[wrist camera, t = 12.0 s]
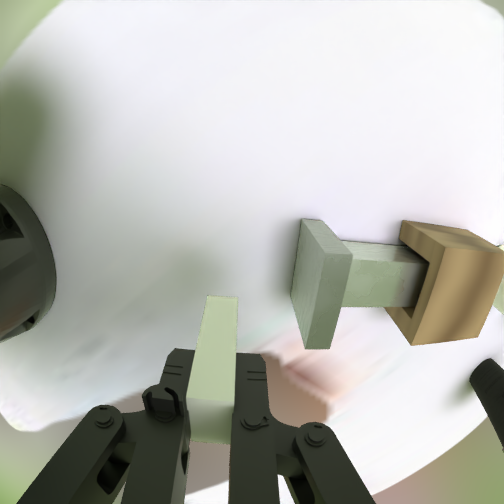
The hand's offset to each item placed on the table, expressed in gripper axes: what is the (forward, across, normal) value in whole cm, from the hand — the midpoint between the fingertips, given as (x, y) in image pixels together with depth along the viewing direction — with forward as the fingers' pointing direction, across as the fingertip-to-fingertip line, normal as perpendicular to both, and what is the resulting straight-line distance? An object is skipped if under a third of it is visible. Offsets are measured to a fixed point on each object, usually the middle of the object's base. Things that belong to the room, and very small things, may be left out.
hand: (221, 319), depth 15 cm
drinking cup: (+9, +37, -16) cm, 41 cm away
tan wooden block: (+9, +18, 0) cm, 20 cm away
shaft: (+8, +14, 0) cm, 16 cm away
